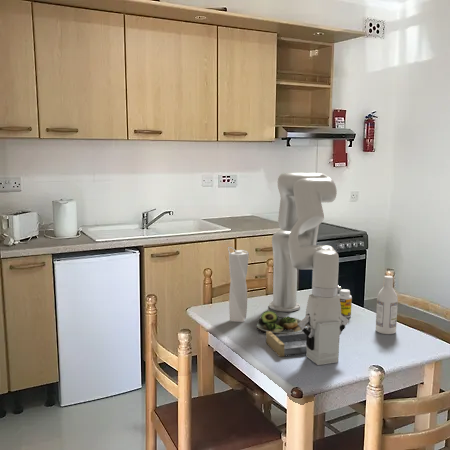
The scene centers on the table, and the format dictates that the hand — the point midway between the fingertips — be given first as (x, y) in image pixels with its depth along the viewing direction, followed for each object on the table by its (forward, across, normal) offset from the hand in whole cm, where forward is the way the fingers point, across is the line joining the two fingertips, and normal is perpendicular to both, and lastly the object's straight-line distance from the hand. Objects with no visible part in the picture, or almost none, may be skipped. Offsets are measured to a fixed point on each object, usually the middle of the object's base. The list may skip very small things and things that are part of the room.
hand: (322, 346), depth 153 cm
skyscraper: (+4, +14, -42) cm, 45 cm away
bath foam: (+4, -33, -16) cm, 37 cm away
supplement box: (+4, 0, 0) cm, 4 cm away
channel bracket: (+4, +3, -11) cm, 12 cm away
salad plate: (+5, +2, -30) cm, 31 cm away
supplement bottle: (+4, -27, -35) cm, 44 cm away
